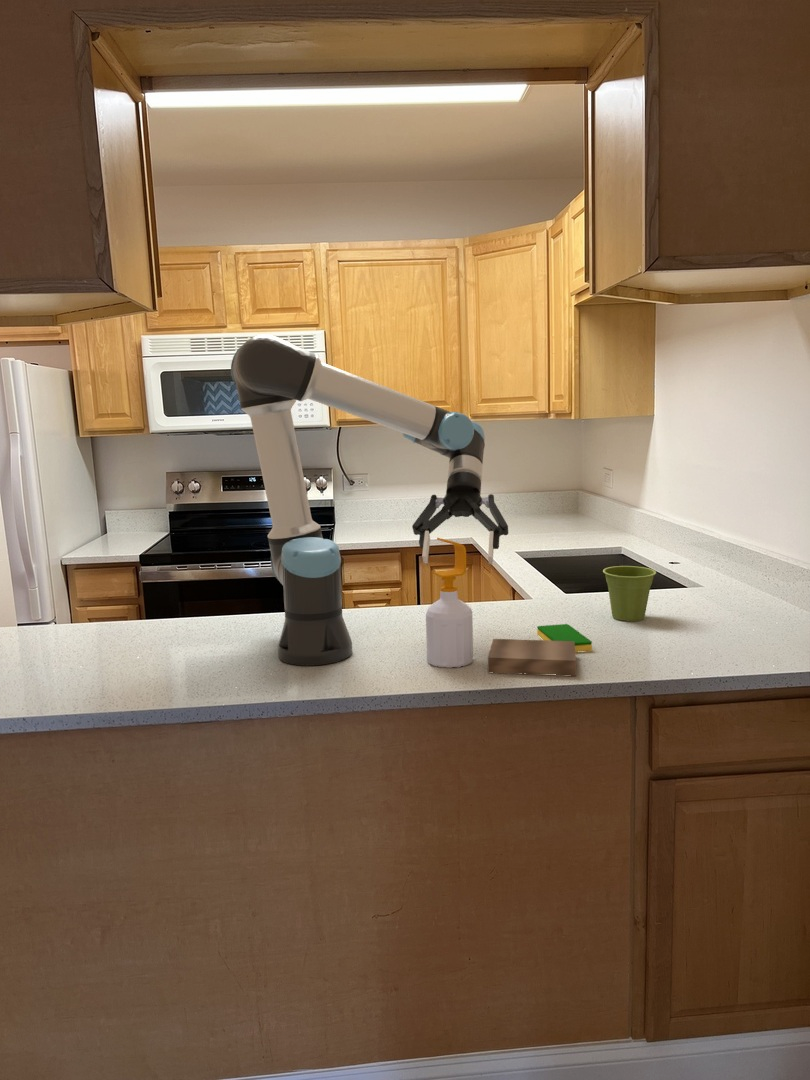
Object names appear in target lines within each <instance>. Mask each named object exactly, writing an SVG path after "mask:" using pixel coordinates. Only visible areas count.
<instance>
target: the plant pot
mask: <svg viewBox="0 0 810 1080" xmlns="http://www.w3.org/2000/svg"><path fill="white" fill-rule="evenodd" d="M602 572H603V574H605V575H604V576H605V580H606V581H605V582H606V583H607V589H608V595H609V601H610V602H609V603H610V609H611V616H612V618H613V619H615V620H616V621H627V622H640V621H642V620H644V619H645V616H646V611H647V607H648V606H647V605H648V601H649V596H650V591H651V586H652V584H653V580H654V576H655V575H656V574H657V571H656V570H655V569H652V568H649V567H643V566H633V565H619V566H617V565H616V566H609V567H605V568H604V569H603V570H602Z"/></svg>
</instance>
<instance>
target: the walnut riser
mask: <svg viewBox="0 0 810 1080" xmlns="http://www.w3.org/2000/svg"><path fill="white" fill-rule="evenodd" d="M576 669H577V657H576V652H575V643H574V641H547V640H542V639H539V640H537V639H512V638H511V639H510V638H509V639H508V638H493V639H492V642H491V645H490V649H489V653H488V656H487V673H488V672H493V673H492V674H503V673H522V674H521V675H528V674H556V675H571V676H570V677H576V676H577V670H576ZM524 673H526V674H524Z"/></svg>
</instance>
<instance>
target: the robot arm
mask: <svg viewBox="0 0 810 1080" xmlns="http://www.w3.org/2000/svg"><path fill="white" fill-rule="evenodd" d="M230 374H231V378H232V381H233V382H234V385H235V387H236V390H237V397H238V400H239V404H240V405H239V406H240V410H241V411H242V412H243V413H245V414H246V415H248V416H249V417H250V423H251V427H252V431H253V436H254V442H255V447H256V451H257V457H258V462H259V466H260V470H261V475H262V481H263V485H264V490H265V495H266V499H267V505H268V509H269V515H270V519H271V525H272V528H271V530H270V532H268V534H267V539H268V545H269V550H270V568H271V570H272V573H273V575H274V578H276V579H277V581H279V583H280V584H281V585H282V586H283V603H284V622H283V623H284V624H283V627H282V630H281V634H280V638H279V642H278V645H277V654H278V656H277V657H278V659H279V660H280V661H282V662H284V663H286V664H290V665H294V666H295V665H297V666H322V665H327V664H334V663H338V662H340V661H343V660H346V659H348V658H349V657H351V656H352V654H353V642H352V639H351V636H350V633H349V630H348V628H347V627H348V626H347V625H346V621H345V619H344V617H343V602H342V601H343V599H342V596H343V595H342V574H341V572H342V569H341V563H342V557H341V554H340V548H339V545H338V544H337V543H336V542H335V541H333V540H331V539H328V538H324V537H323V534H322V528H321V525H320V524H319V523H317V522H316V521H314V520H313V518H312V513H311V507H310V502H309V498H308V493H307V487H306V483H305V482H306V481H305V477H304V476H305V475H304V473H303V472H304V471H303V466H302V461H301V456H300V451H299V447H298V442H297V436H296V431H295V425H294V421H293V414H292V408H293V407H294V405H295V403H296V401H298V402H303V401H306V400H307V399H308V400H310V401H313V402H316V403H319V404H321V405H324V406H327V407H330V408H333V409H336V410H338V411H341V412H344V413H347V414H350V415H351V416H355V417H357V418H359V419H360V418H361V419H363V420H366V421H369V422H371V423H373V424H374V423H375V424H377V425H379V426H382V427H385V428H387V429H388V428H389V429H390V430H393V431H396V432H398V433H401V434H402V436H403V437H404V438H405V439H406V440H407V439H408V440H409V441H411V442H412V443H414V444H417V445H420V446H422V447H424V448H427V449H429V450H431V451H434V452H436V453H437V454H440V455H442V456H444V457H446V458H448V459H449V462H448V463H449V464H448V472H447V473H448V474H447V483H446V490H445V495H444V497H438V496H437V495H436V494H432V495H431V496H430V498H429V499H430V500H429V503H428V504H427V505H426V506H425V508H424V509H423V510H422V512H421V513H420V515H419V516H418V517H417V518H416V520H415V521H414V523H413V524H412V526H411V527H412V532H413V534H414V536H415V535H416V536H418V535H419V539H418V540H419V541H418V544H419V545H418V546H419V548H420V549H422V551H421V552H422V555H421V557H422V562H423V564H428V563H429V560H428V559H429V552H430V545H431V543H430V542H431V535H430V534H432V533H433V532H434V531H435V530H436V529H437V528H438V527H439V526H441V524H442V525H443V523H444V522H445V521H447V520H449V519H451V518H452V517H455V518H460V517H464V518H469V517H470V516H472V517H473V518H474V519H475V520H477V521H478V522H479V523H480V524H481V525H482V526H483V527H484V528H485V529H486V530H487V531H488V532H489V536H488V537H489V538H488V554H487V555H488V556H487V557H488V564H489V565H493V563H494V550H498V549H499V547H500V537H501V536H503V535H504V536H507V535H509V525H508V523H507V521H506V519H505V518H504V516H503V515H502V513H501V512H500V509H499V508H498V506H497V504H496V503H495V495H494V494H492V493H491V494H489V495H487V497H485V496H484V497H482V496H481V494H482V493H481V491H482V477H483V476H482V475H483V463H484V451H485V431H484V429H483V427H482V426H481V425H480V424H479V423H477V422H475V421H473V420H471V419H470V418H469V416H467V415H466V414H465V413H462V412H458V411H449V410H446V409H444V408H441V407H439V406H435V405H433V404H431V403H428V402H425V401H423V400H420V399H418V398H415V397H413V396H410V395H408V394H405V393H403V392H400V391H397V390H395V389H392V388H389V387H387V386H384V385H381V384H380V383H377V382H374V381H371V380H369V379H366V378H364V377H362V376H359V375H356V374H354V373H351V372H348V371H345V370H343V369H342V368H341V369H340V368H338V367H335V366H333V365H330V364H327V363H325V362H322V361H321V359H320V358H319V355H318V354H317V353H314V352H311V351H309V350H307V349H304V348H303V347H300V346H297V345H296V344H293V343H291V342H289V341H287V340H285V339H282V338H280V337H278V336H274V335H271V334H259V335H255V336H253V337H251V338H249V339H247V340H246V341H245V342H244V343H243V344H242V345H241V346H240V347H239V348H238V349H237V350H236V351H235V353H234V355H233V357H232V359H231V364H230ZM441 505H443V506H442V507H441V509H440V510H439V511H438V512H437V513H436V511H437V509H439V508H440V506H441ZM482 505H484V506H485V507H486V509H489V511H490V514H491V516H492V517H493V519H494V521H495V522H496V523H495V522H494V521H493V520H492V519H491V518H490V517H489V516H488V515H487V514H486V513H485V512H484V511H483V509H481V506H482ZM435 513H436V514H435ZM434 514H435V515H434Z"/></svg>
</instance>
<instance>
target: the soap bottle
mask: <svg viewBox="0 0 810 1080" xmlns="http://www.w3.org/2000/svg"><path fill="white" fill-rule="evenodd" d="M436 540H437V541H440V542H444V543H447V544H451V545H452V546H453V548H454V568H452V569H450V570H441V571H434V575H435V576H437V577H440V578H441V580H442V581H443V582H444V583H443V584H444V585H442V586H440V588H439V590H440V595H439V597H440V598H439V599H438V600H437V601H434V602H433V603H431V605H429V606H428V608H427V611H426V614H425V626H426V627H425V632H426V634H425V635H426V637H425V638H426V639H425V640H426V660H427V662H428V663H429V664H430V665H432V666H434V667H437V666H438V668H443V667H446V669H449V668H450V669H453V668H452V667H457V668H462V667H461V666H463V667H465V666H468V665H470V664H471V663H472V662H473V660H474V644H473V643H474V641H473V639H474V634H473V631H474V630H473V629H474V628H473V611H472V607H471V606H469V605H468V604H467V603H466V602H464V601H463V600H461V599H459V598H458V587H457V586H456V585H454V581H455V580H456V579H457V578H456V577H462V576H464V575H465V574H466V572H467V549H466V547H465V545H464V544H461V543H459V542H455V541H453V540H450V539H449V540H448V539H444V538H441V537H437V538H436Z"/></svg>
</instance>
